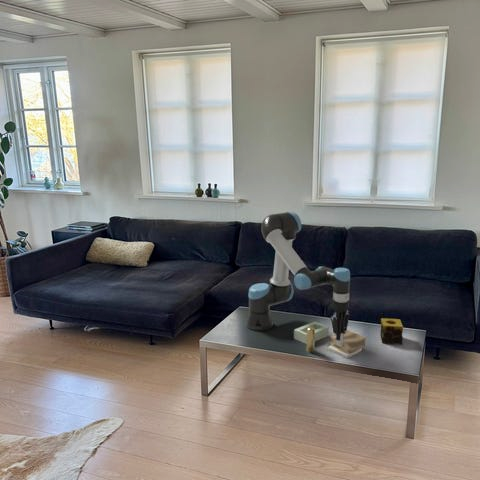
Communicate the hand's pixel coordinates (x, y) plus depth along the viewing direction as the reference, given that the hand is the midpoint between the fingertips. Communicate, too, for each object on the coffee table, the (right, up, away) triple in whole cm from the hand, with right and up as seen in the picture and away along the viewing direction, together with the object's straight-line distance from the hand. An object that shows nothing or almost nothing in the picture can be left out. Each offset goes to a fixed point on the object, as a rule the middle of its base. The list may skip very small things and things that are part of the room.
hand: (339, 345), depth 223 cm
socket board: (-11, 0, +19) cm, 22 cm away
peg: (-14, -3, +4) cm, 15 cm away
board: (+3, -3, +3) cm, 6 cm away
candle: (+30, -1, +14) cm, 33 cm away
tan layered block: (+5, -1, +5) cm, 7 cm away
